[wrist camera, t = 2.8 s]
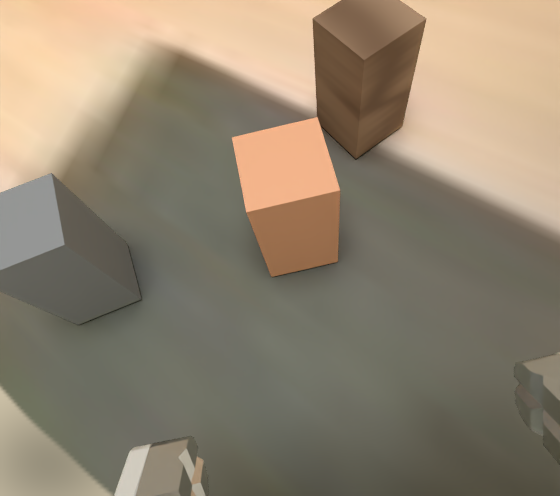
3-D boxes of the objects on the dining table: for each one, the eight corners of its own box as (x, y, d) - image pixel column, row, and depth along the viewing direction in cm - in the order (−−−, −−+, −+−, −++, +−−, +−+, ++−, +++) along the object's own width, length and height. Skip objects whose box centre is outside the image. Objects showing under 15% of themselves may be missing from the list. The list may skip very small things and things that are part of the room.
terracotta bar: (321, 204, 30) (317, 117, 22) (337, 261, 28) (340, 190, 20) (259, 218, 30) (232, 137, 22) (271, 276, 28) (246, 212, 20)
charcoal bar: (127, 243, 30) (51, 173, 22) (141, 299, 28) (64, 244, 20) (67, 267, 30) (-32, 204, 22) (78, 325, 28) (-26, 280, 20)
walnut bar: (362, 92, 33) (371, -19, 25) (402, 126, 32) (426, 18, 23) (317, 122, 33) (312, 18, 25) (355, 158, 31) (364, 60, 23)
